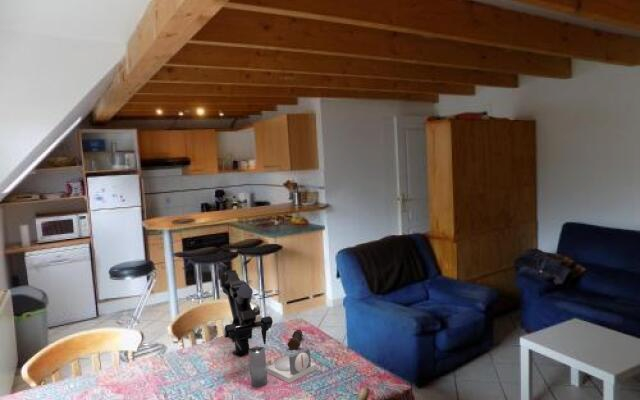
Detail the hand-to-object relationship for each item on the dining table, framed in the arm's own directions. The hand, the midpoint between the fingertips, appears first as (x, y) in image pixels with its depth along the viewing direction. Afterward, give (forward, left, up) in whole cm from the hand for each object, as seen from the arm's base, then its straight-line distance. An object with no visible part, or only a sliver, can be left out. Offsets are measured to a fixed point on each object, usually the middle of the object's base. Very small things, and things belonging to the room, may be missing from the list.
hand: (253, 346), depth 164 cm
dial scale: (+7, +12, -12) cm, 18 cm away
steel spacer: (+5, -2, -12) cm, 13 cm away
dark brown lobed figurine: (-11, +31, -13) cm, 35 cm away
